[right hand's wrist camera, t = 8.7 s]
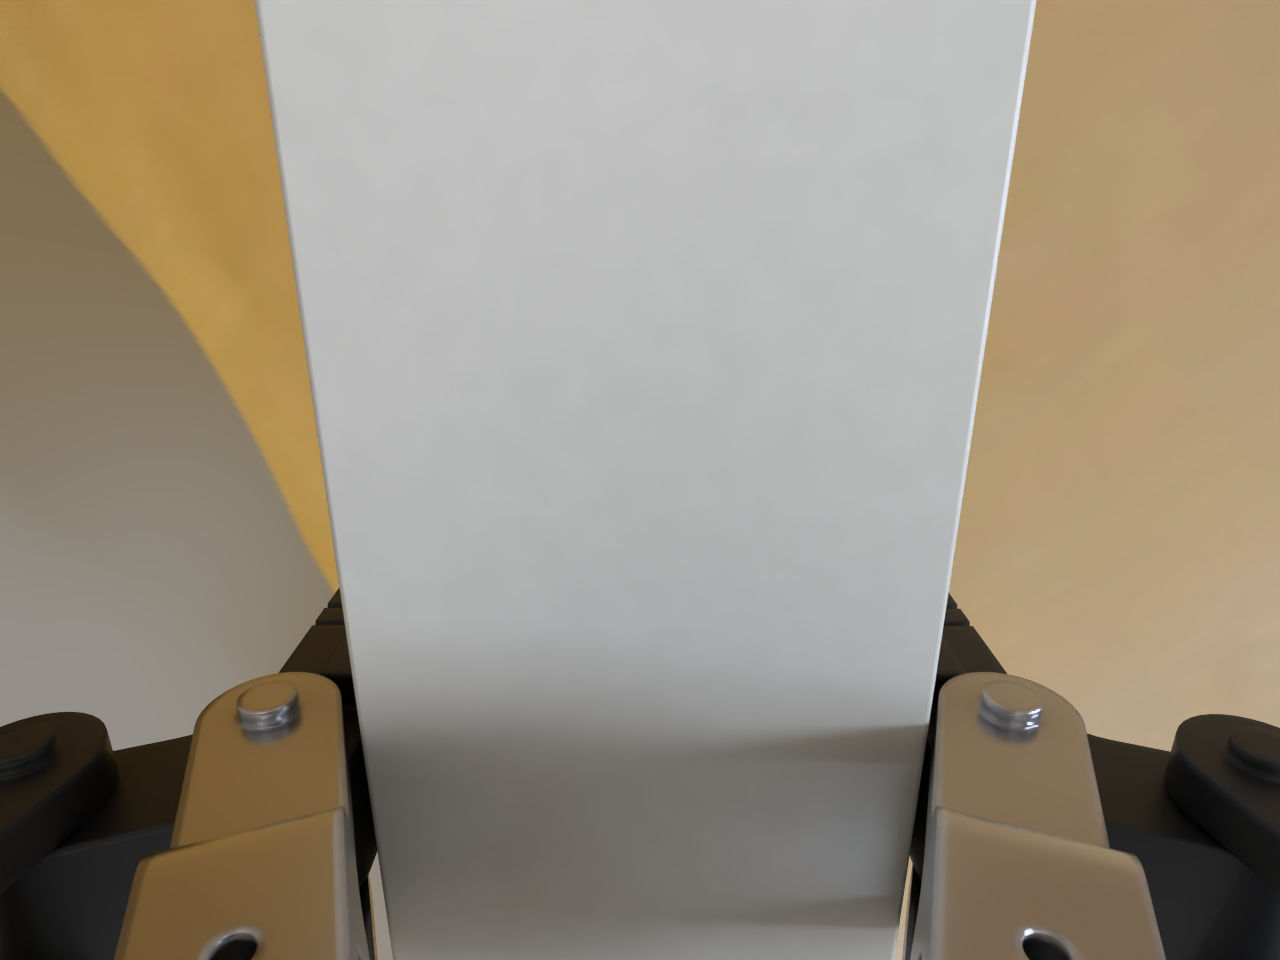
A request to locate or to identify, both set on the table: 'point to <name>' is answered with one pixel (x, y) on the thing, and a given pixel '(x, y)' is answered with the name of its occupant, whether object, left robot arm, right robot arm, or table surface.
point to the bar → (644, 444)
